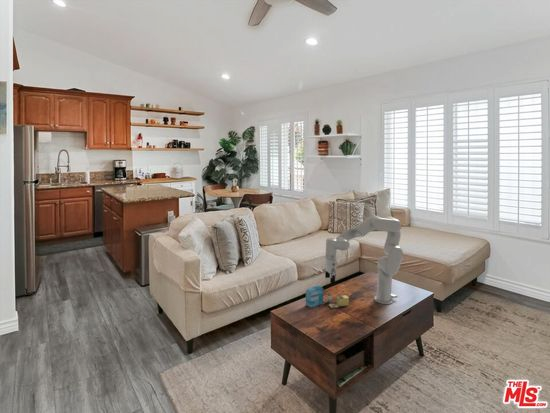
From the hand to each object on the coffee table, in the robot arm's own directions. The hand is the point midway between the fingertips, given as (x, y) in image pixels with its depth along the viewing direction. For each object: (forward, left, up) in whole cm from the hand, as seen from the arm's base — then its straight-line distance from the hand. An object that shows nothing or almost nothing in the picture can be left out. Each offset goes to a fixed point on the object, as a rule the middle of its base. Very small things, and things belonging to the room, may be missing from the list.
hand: (330, 280), depth 232 cm
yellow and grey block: (-8, +5, -16) cm, 19 cm away
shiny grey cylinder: (0, 0, -16) cm, 16 cm away
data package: (+11, +2, -17) cm, 20 cm away
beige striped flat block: (-1, +7, -16) cm, 17 cm away
